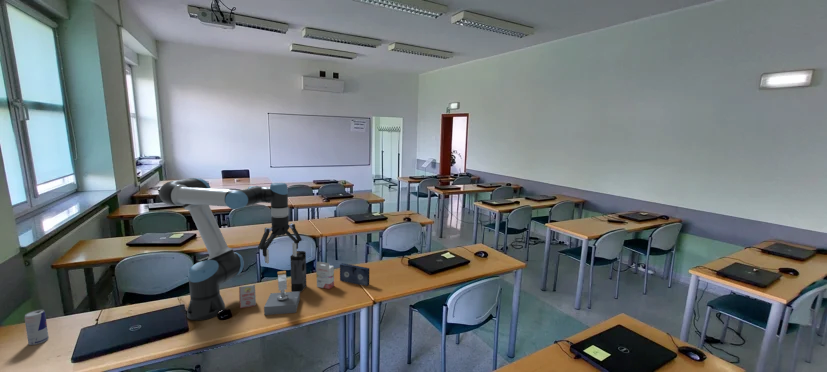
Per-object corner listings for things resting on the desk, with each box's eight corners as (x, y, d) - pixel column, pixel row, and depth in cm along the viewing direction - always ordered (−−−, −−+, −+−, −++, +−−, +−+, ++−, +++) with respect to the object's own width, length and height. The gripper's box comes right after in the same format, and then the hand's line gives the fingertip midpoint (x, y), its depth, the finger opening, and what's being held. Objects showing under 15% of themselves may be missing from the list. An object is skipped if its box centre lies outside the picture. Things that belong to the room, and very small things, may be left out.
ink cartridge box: (334, 285, 187) (334, 260, 185) (329, 289, 182) (329, 263, 180) (321, 283, 189) (320, 258, 187) (316, 287, 185) (315, 261, 182)
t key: (288, 302, 158) (288, 279, 156) (277, 304, 156) (276, 280, 154) (287, 292, 168) (286, 270, 166) (277, 293, 166) (276, 271, 164)
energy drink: (52, 337, 134) (48, 309, 132) (38, 345, 129) (34, 316, 127) (39, 337, 134) (35, 309, 132) (24, 345, 128) (19, 316, 127)
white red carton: (240, 304, 163) (239, 285, 162) (255, 302, 166) (254, 283, 165) (239, 308, 160) (238, 288, 159) (255, 305, 163) (254, 286, 161)
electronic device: (301, 292, 177) (300, 256, 174) (290, 292, 177) (289, 256, 175) (307, 285, 186) (306, 250, 184) (296, 284, 187) (295, 250, 184)
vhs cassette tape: (369, 284, 189) (369, 267, 188) (367, 286, 187) (367, 269, 185) (342, 278, 196) (342, 262, 195) (339, 280, 193) (339, 264, 192)
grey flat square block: (264, 315, 154) (264, 306, 154) (271, 300, 168) (270, 292, 167) (295, 312, 157) (295, 304, 156) (299, 298, 171) (299, 291, 170)
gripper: (300, 210, 168) (301, 251, 171) (249, 218, 150) (251, 263, 153) (308, 213, 163) (309, 255, 166) (255, 221, 145) (257, 268, 148)
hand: (281, 259), depth 159 cm, fingers open, 13 cm apart
